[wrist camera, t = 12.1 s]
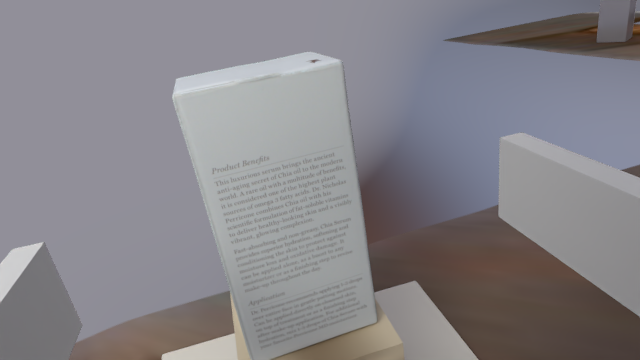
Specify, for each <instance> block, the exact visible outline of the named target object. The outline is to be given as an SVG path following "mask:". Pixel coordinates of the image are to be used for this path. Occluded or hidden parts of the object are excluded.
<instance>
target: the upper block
mask: <svg viewBox="0 0 640 360" xmlns="http://www.w3.org/2000/svg"><path fill="white" fill-rule="evenodd" d="M230 296H231V304H232V313H233V322H234V331H235V340H236V348H237V357H238V360H251V359H250V356H249V353H248V350H247V347H246V343H245V340H244V336H243V333H242V329H241V326H240V322H239V319H238V316H237V312H236V309H235V306H234V302H233V299H232V295H231V293H230ZM375 303H376V311H377V322H376V323H374V324H371V325H368V326H365V327H362V328H359V329H356V330H353V331H350V332H348V333H345V334H342V335H339V336H336V337H333V338H330V339H328V340H325V341H322V342H319V343H316V344H313V345H311V346H308V347H305V348H302V349H299V350H296V351H293V352H290V353H288V354H285V355H282V356H279V357H276V358H273V359H271V360H405V359H404V348H403V342H402V341H401V339H400V337H399V336H398V334H397V332H396V331H395V329H394V328H393V326H392V324H391V323H390V321H389V320H388V318H387V316H386V315H385V313H384V312H383V310H382V308H381V307H380V305H379V303H378V302H377V300H376V299H375Z"/></svg>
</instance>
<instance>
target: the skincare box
mask: <svg viewBox="0 0 640 360" xmlns="http://www.w3.org/2000/svg"><path fill="white" fill-rule="evenodd" d="M172 99H173V103H174V106H175V109H176V113H177V116H178V118H179V122H180V125H181V128H182V132H183V135H184V138H185V141H186V144H187V148H188V151H189V154H190V157H191V161H192V164H193V167H194V170H195V174H196V177H197V180H198V184H199V187H200V190H201V194H202V197H203V201H204V204H205V207H206V211H207V214H208V217H209V221H210V224H211V227H212V231H213V234H214V238H215V241H216V244H217V247H218V251H219V254H220V258H221V261H222V265H223V268H224V272H225V275H226V279H227V282H228V285H229V289H230V292H231V295H232V299H233V302H234V306H235V309H236V312H237V316H238V319H239V322H240V326H241V329H242V333H243V336H244V340H245V343H246V347H247V350H248V353H249V356H250V359H251V360H271V359H273V358H276V357H279V356H282V355H285V354H288V353H290V352H293V351H296V350H299V349H302V348H305V347H308V346H311V345H313V344H316V343H319V342H322V341H325V340H328V339H330V338H333V337H336V336H339V335H342V334H345V333H348V332H350V331H353V330H356V329H359V328H362V327H365V326H368V325H371V324H374V323H376V322H377V311H376V303H375V295H374V288H373V281H372V274H371V266H370V260H369V253H368V246H367V237H366V230H365V222H364V214H363V207H362V200H361V193H360V187H359V178H358V172H357V164H356V156H355V150H354V141H353V135H352V129H351V120H350V115H349V108H348V100H347V91H346V84H345V75H344V66H343V62H342V61H341V60H339V59H335V58H332V57H328V56H325V55H322V54H318V53H314V52H305V53H301V54H296V55H291V56H287V57H282V58H278V59H273V60H268V61H263V62H258V63H253V64H247V65H242V66H236V67H231V68H226V69H221V70H216V71H211V72H206V73H201V74H196V75H192V76H187V77H182V78H178V79H176V83H175V88H174V91H173V95H172Z"/></svg>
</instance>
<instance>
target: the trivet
mask: <svg viewBox="0 0 640 360" xmlns="http://www.w3.org/2000/svg"><path fill="white" fill-rule="evenodd" d="M374 295H375V299H376V300H377V302H378V303H379V305H380V307H381V308H382V310H383V312H384V313H385V315H386V316H387V318H388V320H389V321H390V323H391V324H392V326H393V328H394V329H395V331H396V332H397V334H398V336H399V337H400V339H401V341H402V342H403V348H404V359H405V360H478V358H477V357H476V356H475V355H474V353H473V352H472V351H471V350H470V348H469V347H468V346H467V345H466V343H465V342H464V341H463V340H462V338H461V337H460V336H459V335H458V333H457V332H456V331H455V330H454V328H453V327H452V326H451V325H450V323H449V322H448V321H447V320H446V318H445V317H444V316H443V314H442V313H441V312H440V311H439V309H438V308H437V307H436V306H435V304H434V303H433V302H432V301H431V299H430V298H429V297H428V296H427V294H426V293H425V292H424V291H423V289H422V288H421V287H420V286H419V284H418V283H417V282H416V281H412V282H409V283H405V284H402V285H398V286H395V287H392V288H388V289H385V290H381V291H378V292H374ZM162 360H238V357H237V348H236V340H235V333H234V334H231V335H227V336H224V337H221V338H217V339H214V340H210V341H207V342H203V343H200V344H197V345H193V346H190V347H186V348H183V349H179V350H176V351H173V352H169V353H166V354H162Z"/></svg>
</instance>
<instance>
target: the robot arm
mask: <svg viewBox="0 0 640 360" xmlns="http://www.w3.org/2000/svg"><path fill="white" fill-rule="evenodd" d="M499 159H500V160H499V161H500V162H499V217H500V218H501V219H503V220H504V221H506V222H507V223H508V224H510V225H511V226H513V227H514V228H515V229H517V230H518V231H520V232H521V233H522V234H524V235H525V236H527V237H528V238H530V239H531V240H532V241H534V242H535V243H537V244H538V245H539V246H541V247H542V248H544V249H545V250H546V251H548V252H549V253H551V254H552V255H553V256H555V257H556V258H558V259H559V260H561V261H562V262H563V263H565V264H566V265H568V266H569V267H570V268H572V269H573V270H575V271H576V272H577V273H579V274H580V275H582V276H583V277H584V278H586V279H587V280H589V281H590V282H592V283H593V284H594V285H596V286H597V287H599V288H600V289H601V290H603V291H604V292H606V293H607V294H608V295H610V296H611V297H613V298H614V299H615V300H617V301H618V302H620V303H621V304H623V305H624V306H625V307H627V308H628V309H630V310H631V311H632V312H634V313H635V314H637V315H638V316H639V317H640V178H639V177H636V176H634V175H631V174H629V173H626V172H623V171H621V170H618V169H616V168H613V167H610V166H608V165H605V164H603V163H600V162H597V161H594V160H592V159H590V158H587V157H584V156H582V155H579V154H577V153H574V152H571V151H569V150H566V149H564V148H561V147H559V146H556V145H553V144H551V143H548V142H545V141H543V140H540V139H538V138H535V137H533V136H530V135H527V134H525V133H517V134H513V135H509V136H504V137H500V158H499ZM81 328H82V323H81V321H80V318H79V316H78V314H77V312H76V310H75V308H74V306H73V303H72V301H71V299H70V297H69V295H68V292H67V290H66V288H65V286H64V284H63V282H62V279H61V277H60V275H59V273H58V271H57V269H56V266H55V264H54V262H53V260H52V258H51V256H50V253H49V251H48V249H47V247H46V245H45V242H42V243H38V244H33V245H29V246H25V247H20V248H16V249H13V250H11V252H10V253H9V254H8V255H7V257H6V258H5V259H4V260H3V261H2V263H1V264H0V360H68V359H69V357H70V355H71V352H72V350H73V347H74V345H75V342H76V340H77V337H78V335H79V333H80V330H81Z"/></svg>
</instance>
